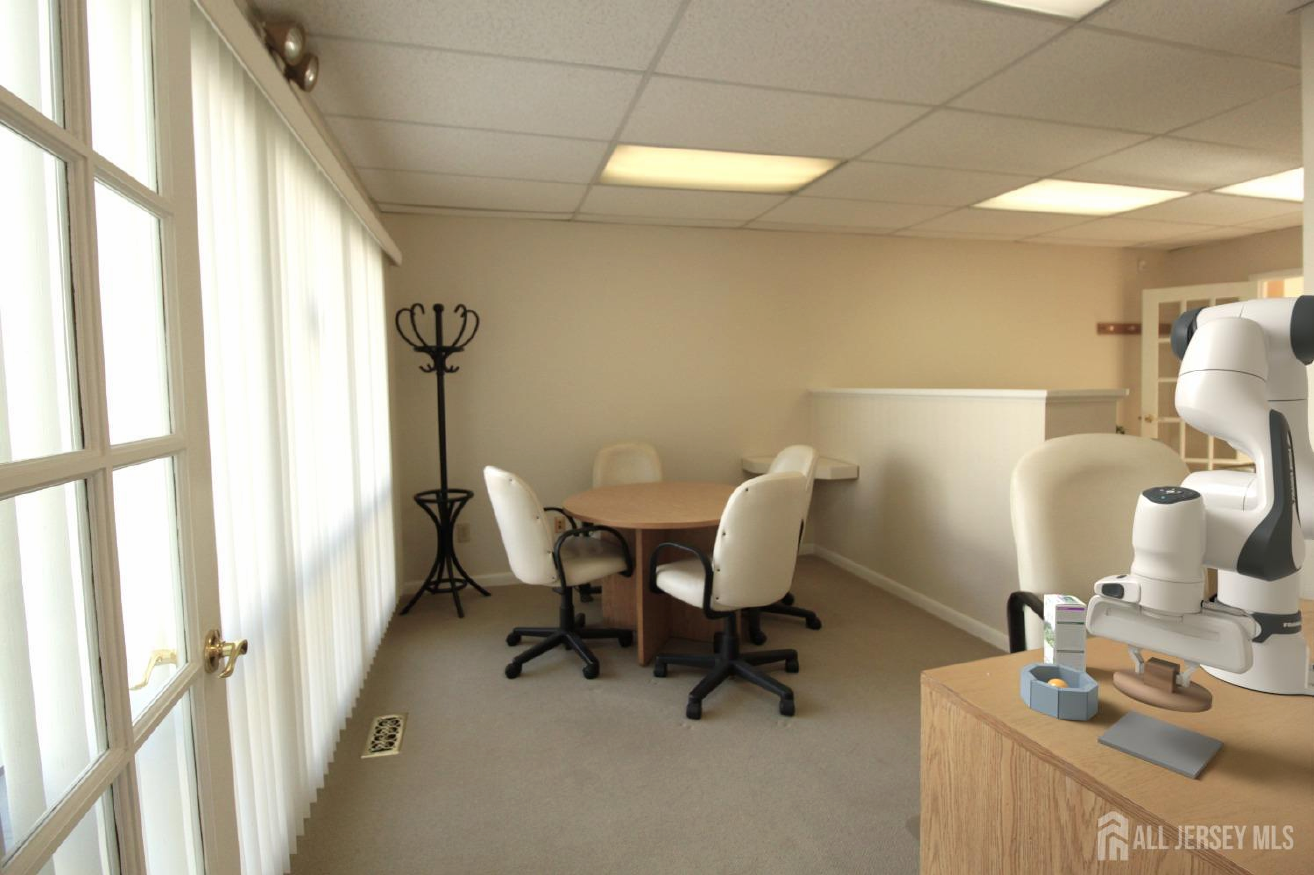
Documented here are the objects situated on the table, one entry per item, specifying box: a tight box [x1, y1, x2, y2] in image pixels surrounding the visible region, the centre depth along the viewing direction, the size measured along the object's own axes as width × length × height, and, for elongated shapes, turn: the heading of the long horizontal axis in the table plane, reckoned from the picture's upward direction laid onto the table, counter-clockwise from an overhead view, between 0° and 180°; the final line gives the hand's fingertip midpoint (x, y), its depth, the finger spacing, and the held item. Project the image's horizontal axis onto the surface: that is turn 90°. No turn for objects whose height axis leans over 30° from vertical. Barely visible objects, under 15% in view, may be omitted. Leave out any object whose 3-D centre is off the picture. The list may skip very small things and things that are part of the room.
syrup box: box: [1042, 593, 1088, 673], centre depth 124 cm, size 6×6×14 cm
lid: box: [1113, 656, 1214, 714], centre depth 98 cm, size 12×12×5 cm
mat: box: [1097, 710, 1224, 780], centre depth 99 cm, size 14×12×1 cm
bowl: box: [1019, 662, 1100, 721], centre depth 111 cm, size 11×11×5 cm
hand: (1161, 679), depth 98 cm, fingers closed on lid, 3 cm apart
